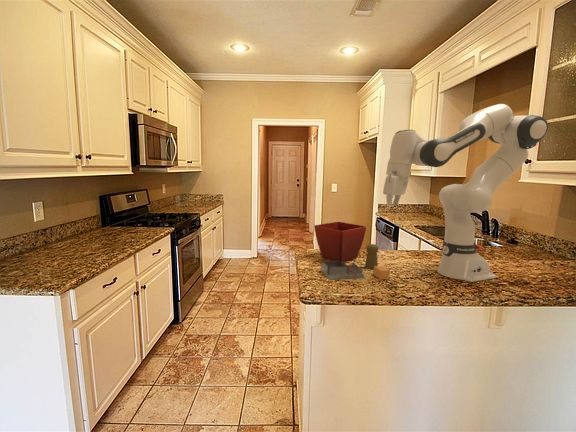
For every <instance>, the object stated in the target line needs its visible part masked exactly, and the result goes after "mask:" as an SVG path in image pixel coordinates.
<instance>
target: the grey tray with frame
mask: <svg viewBox="0 0 576 432" xmlns="http://www.w3.org/2000/svg"><path fill="white" fill-rule="evenodd" d="M321 263H322V264H321V266H320V270H321V272H322V273H323V274H324V275H325V277H326V278H327V279H328V280H329V281H330V280H332V281H334V280H336V281H337V280H352V279H353V280H354V279H364V278H365V274H364V273H363V272H364V271H363V269H362V268H361V267H360V266H358V265H357V264H356V263H355V262H351V264H346V263H345V262H343V261H342V260H341V261H333V260H322V261H321Z"/></svg>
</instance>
